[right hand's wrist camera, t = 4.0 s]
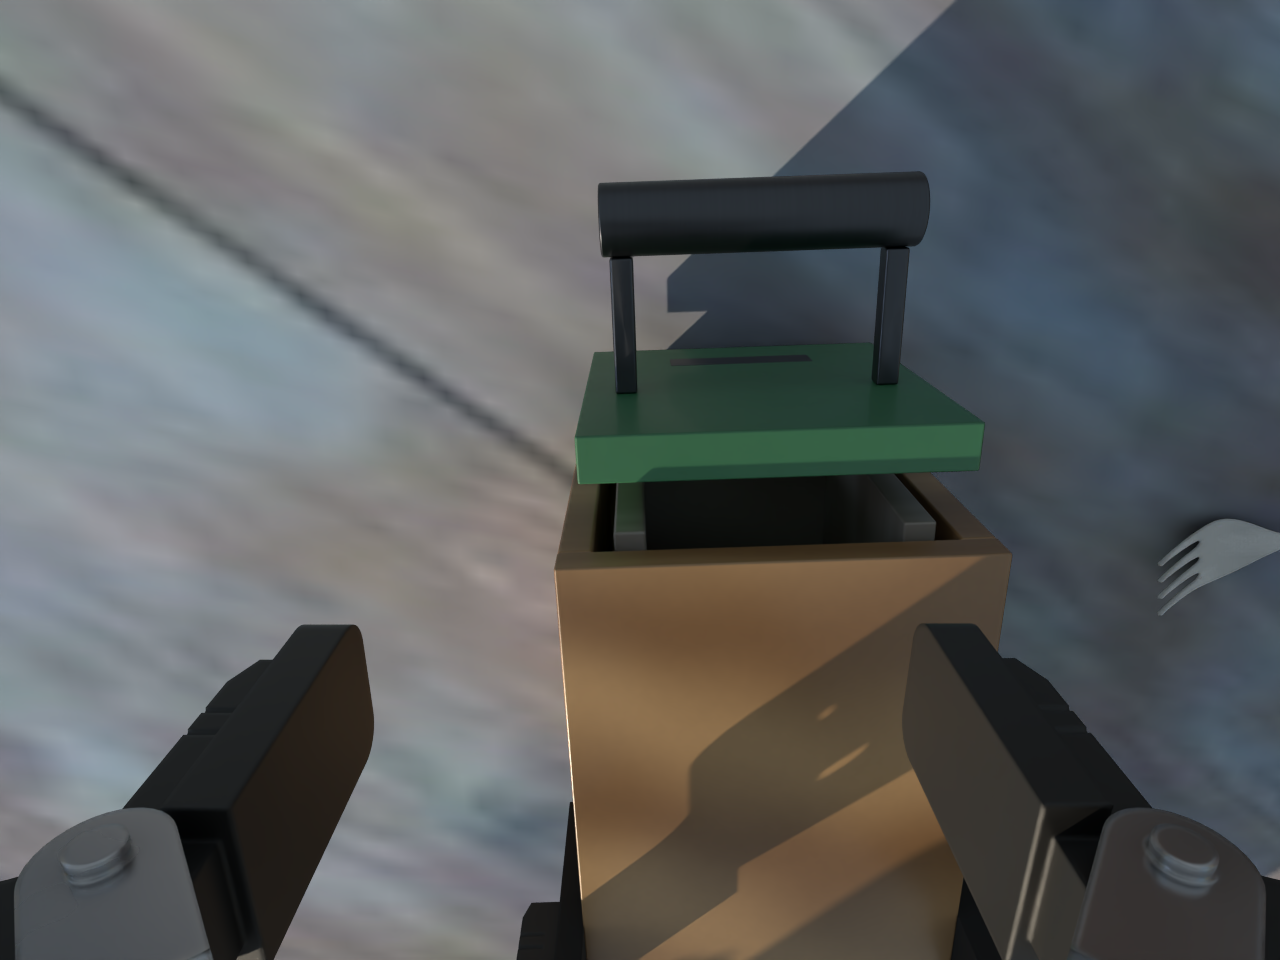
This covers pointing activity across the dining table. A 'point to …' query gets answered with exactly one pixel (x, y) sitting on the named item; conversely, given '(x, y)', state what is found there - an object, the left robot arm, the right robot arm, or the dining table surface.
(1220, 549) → the fork
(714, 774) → the open wooden box
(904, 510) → the drawer
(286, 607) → the dining table surface
